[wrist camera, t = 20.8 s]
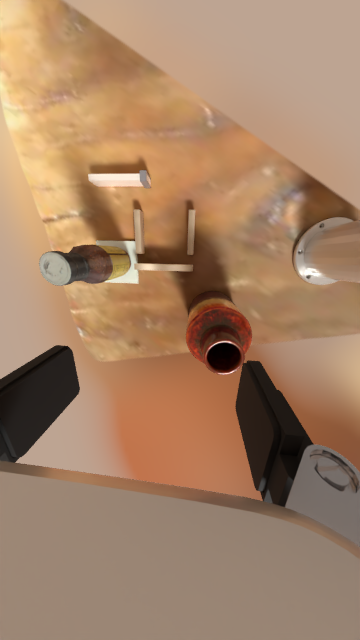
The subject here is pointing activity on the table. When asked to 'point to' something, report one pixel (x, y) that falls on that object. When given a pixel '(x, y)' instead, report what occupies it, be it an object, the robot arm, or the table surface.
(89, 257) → the sauce bottle
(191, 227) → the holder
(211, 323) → the vase
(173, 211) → the table surface
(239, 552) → the robot arm
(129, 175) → the bar
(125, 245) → the tile
